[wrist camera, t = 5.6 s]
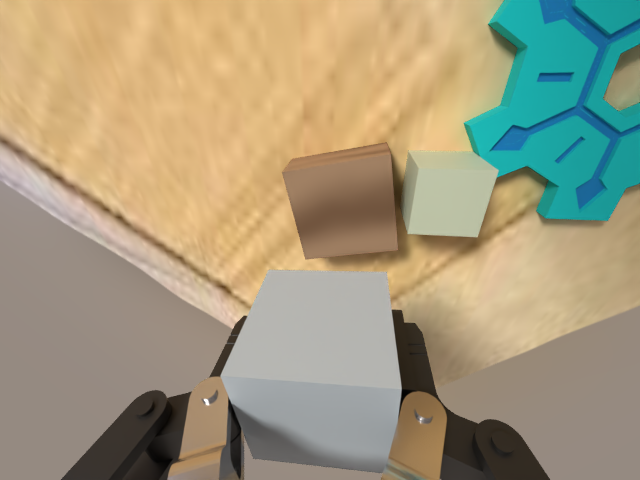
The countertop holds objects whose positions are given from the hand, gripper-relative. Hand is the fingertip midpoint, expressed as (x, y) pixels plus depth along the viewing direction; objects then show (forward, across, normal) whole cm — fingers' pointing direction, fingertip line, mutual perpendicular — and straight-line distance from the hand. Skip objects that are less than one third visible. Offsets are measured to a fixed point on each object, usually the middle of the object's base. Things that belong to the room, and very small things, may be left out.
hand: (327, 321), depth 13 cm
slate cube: (0, 0, 0) cm, 0 cm away
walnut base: (+15, 0, 0) cm, 15 cm away
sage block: (+13, -10, -1) cm, 16 cm away
